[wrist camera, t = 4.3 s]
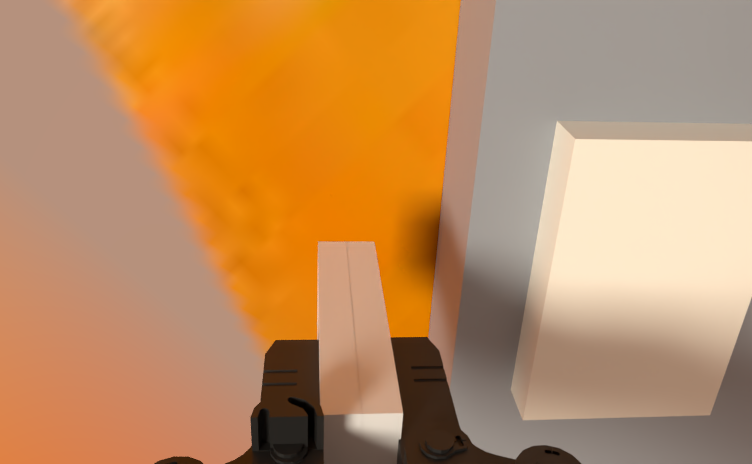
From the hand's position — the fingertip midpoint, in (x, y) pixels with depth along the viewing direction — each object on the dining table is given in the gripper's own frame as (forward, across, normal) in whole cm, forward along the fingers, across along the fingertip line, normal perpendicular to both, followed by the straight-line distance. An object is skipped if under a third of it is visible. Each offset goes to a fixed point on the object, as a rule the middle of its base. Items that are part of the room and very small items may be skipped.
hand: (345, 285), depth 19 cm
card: (+1, +8, 0) cm, 9 cm away
